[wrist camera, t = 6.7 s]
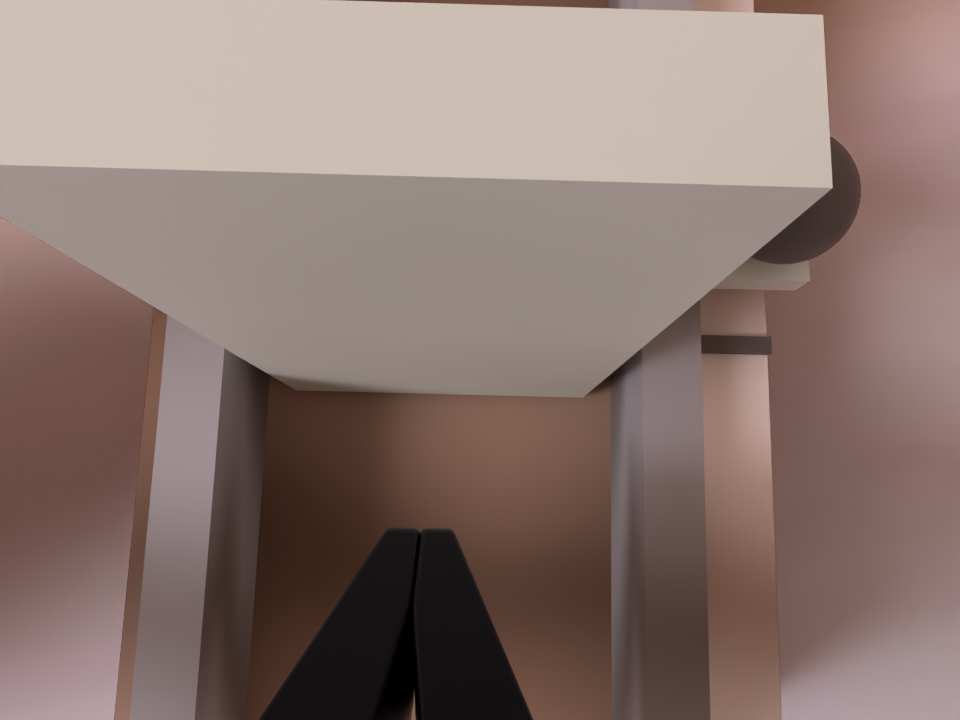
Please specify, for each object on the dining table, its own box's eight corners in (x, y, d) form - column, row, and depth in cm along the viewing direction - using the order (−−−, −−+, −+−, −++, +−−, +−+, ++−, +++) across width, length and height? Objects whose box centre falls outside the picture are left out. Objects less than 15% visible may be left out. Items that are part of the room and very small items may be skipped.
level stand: (710, 721, 17) (810, 816, 12) (154, 709, 17) (22, 800, 12) (692, -29, 20) (765, -200, 15) (221, -42, 20) (138, -220, 15)
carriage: (747, 401, 16) (1357, 202, 5) (295, 390, 16) (-94, 163, 5) (739, 169, 17) (1245, -437, 6) (310, 157, 17) (9, -481, 6)
